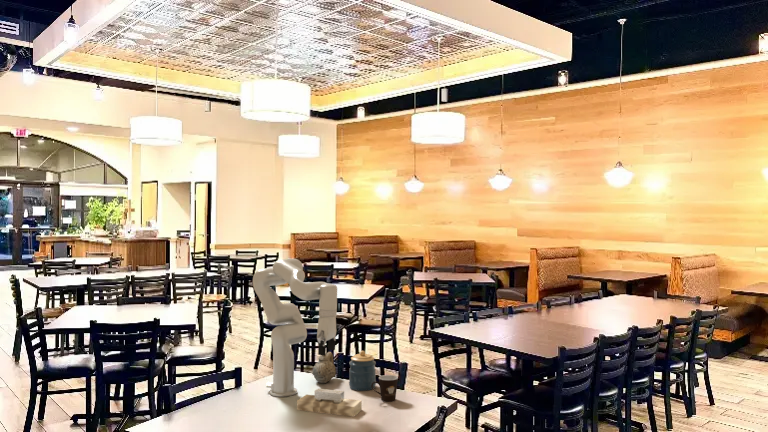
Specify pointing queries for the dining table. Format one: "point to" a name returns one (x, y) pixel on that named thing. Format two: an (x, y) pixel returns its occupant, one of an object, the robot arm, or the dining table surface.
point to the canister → (362, 372)
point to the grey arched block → (329, 395)
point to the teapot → (324, 368)
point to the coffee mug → (387, 387)
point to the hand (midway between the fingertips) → (326, 352)
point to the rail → (329, 406)
